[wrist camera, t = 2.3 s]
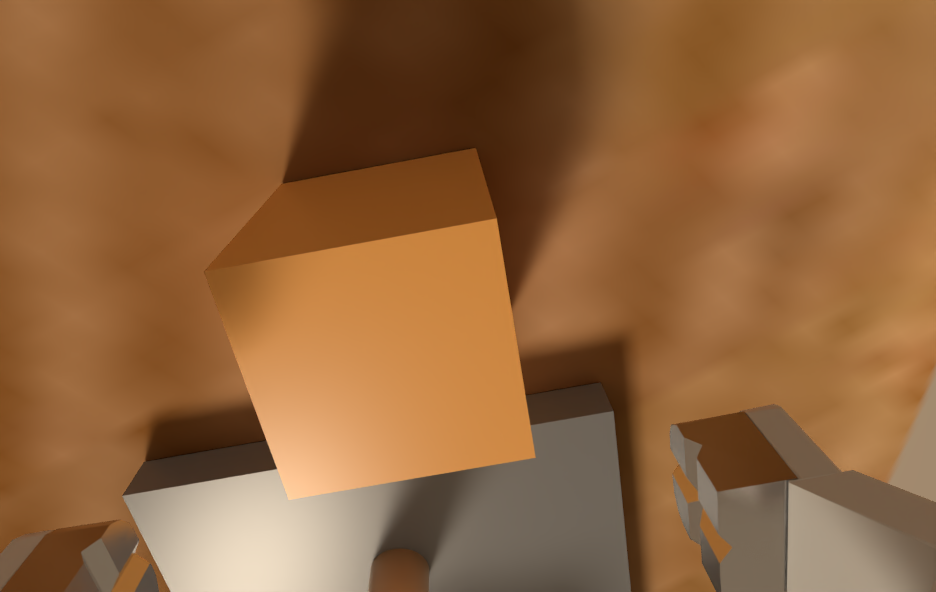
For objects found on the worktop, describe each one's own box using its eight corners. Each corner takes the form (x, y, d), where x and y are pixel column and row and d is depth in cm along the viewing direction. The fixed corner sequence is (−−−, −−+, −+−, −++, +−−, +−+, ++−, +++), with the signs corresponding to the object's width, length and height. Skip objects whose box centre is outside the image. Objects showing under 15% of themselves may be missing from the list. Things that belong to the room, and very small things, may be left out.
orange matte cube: (281, 183, 16) (204, 272, 11) (475, 147, 16) (496, 218, 11) (332, 353, 18) (288, 500, 13) (505, 322, 18) (535, 457, 13)
